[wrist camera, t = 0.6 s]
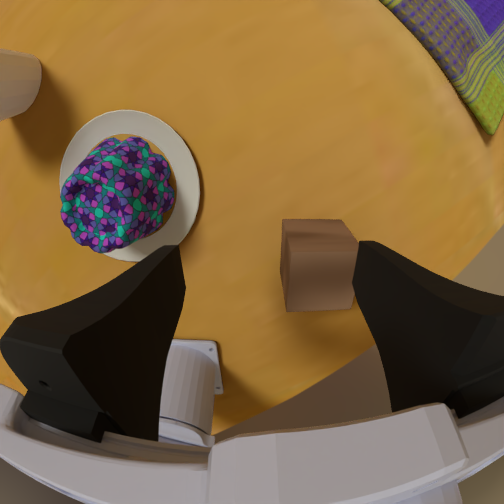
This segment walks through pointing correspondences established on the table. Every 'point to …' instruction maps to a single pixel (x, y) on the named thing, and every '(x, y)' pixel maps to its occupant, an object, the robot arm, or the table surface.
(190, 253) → the table surface
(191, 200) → the pudding
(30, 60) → the white tapered cup
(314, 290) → the walnut block
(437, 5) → the dish towel
